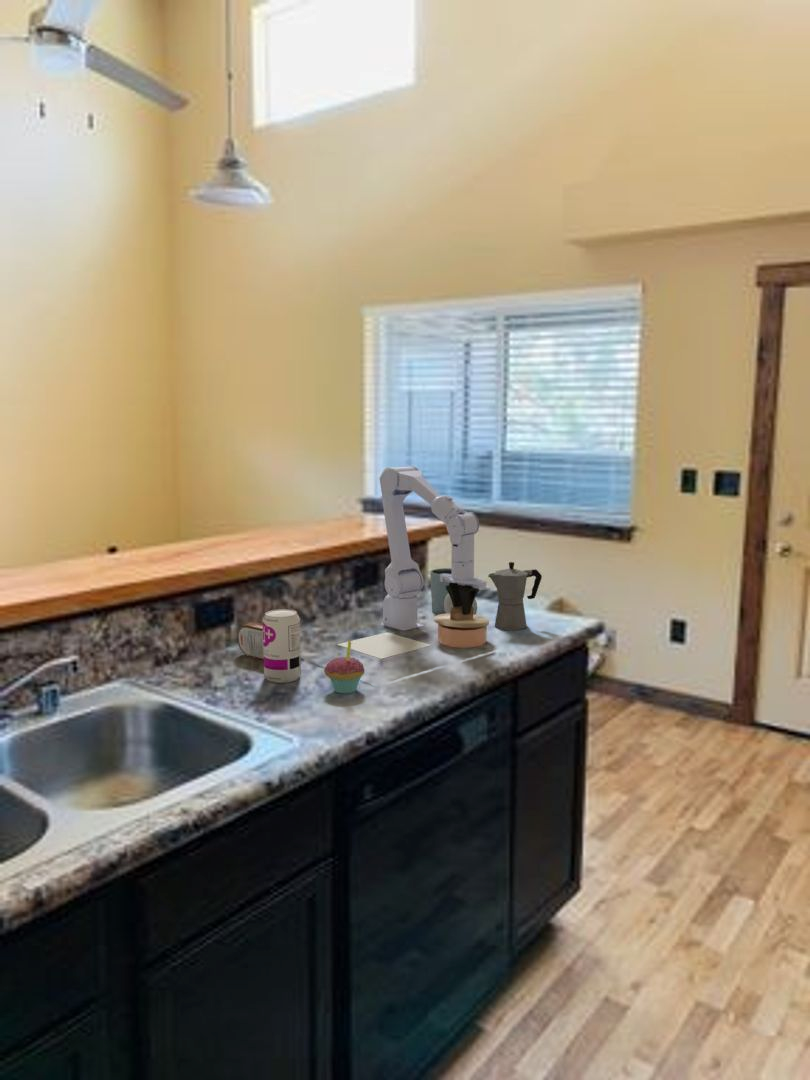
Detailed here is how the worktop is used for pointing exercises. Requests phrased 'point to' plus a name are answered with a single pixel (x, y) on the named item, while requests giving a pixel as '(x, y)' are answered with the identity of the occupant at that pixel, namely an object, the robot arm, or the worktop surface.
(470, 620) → the lid
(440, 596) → the teal cup
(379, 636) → the mat
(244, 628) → the tin
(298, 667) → the supplement can
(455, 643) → the bowl
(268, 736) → the worktop surface
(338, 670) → the cupcake
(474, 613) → the donut
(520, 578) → the coffeepot
